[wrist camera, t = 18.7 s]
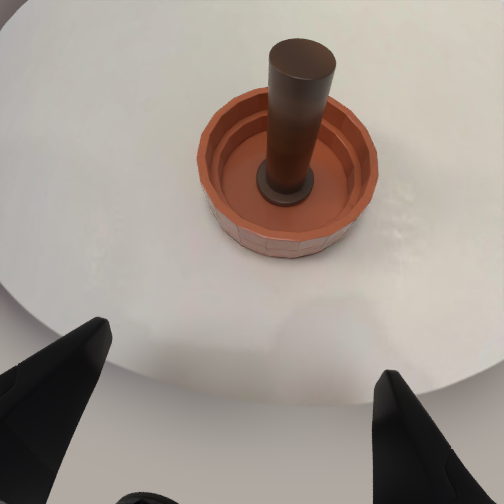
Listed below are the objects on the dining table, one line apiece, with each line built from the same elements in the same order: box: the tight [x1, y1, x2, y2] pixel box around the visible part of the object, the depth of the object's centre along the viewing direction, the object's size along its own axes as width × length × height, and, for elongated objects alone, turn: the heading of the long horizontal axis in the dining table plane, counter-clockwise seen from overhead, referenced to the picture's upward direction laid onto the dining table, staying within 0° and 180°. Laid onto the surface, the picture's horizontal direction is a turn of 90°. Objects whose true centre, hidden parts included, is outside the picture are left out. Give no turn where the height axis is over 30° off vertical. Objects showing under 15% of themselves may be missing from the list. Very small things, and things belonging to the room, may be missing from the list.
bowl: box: [197, 87, 378, 258], centre depth 23 cm, size 12×12×5 cm
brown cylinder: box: [256, 38, 336, 207], centre depth 19 cm, size 4×4×13 cm
